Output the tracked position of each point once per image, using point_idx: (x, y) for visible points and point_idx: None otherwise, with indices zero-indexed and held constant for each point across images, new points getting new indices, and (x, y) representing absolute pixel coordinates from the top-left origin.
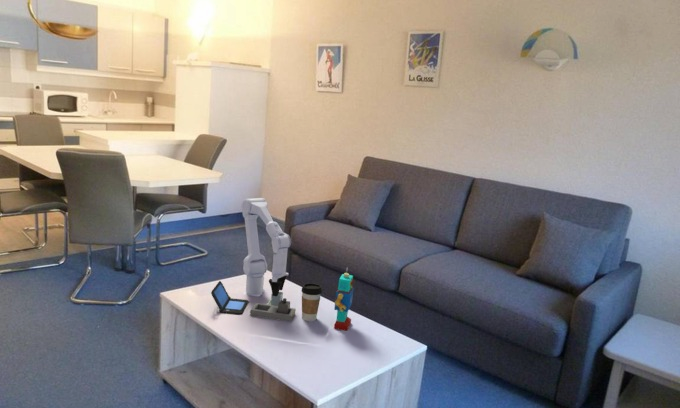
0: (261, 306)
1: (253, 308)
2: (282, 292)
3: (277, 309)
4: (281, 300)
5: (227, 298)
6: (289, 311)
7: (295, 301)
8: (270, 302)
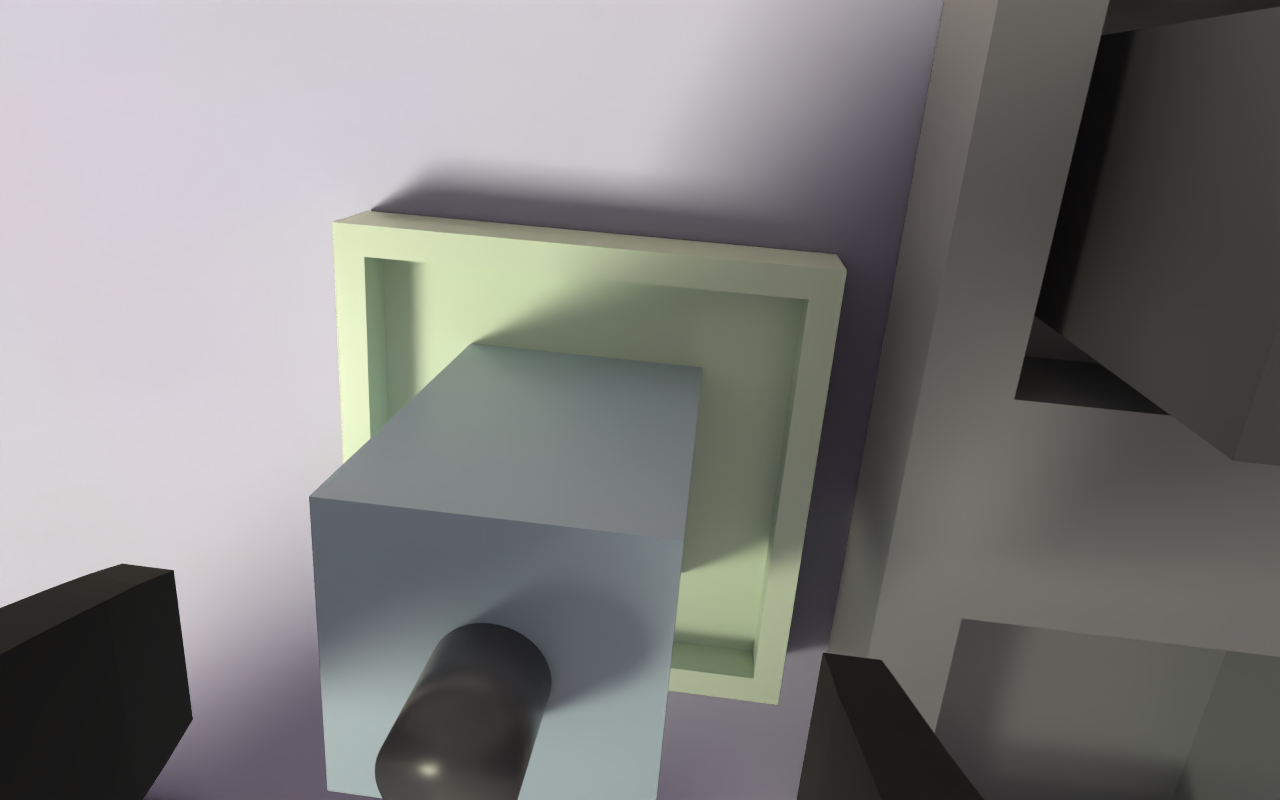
0: None
1: None
2: (324, 511)
3: None
4: (1268, 437)
5: None
6: (1148, 28)
7: (3, 45)
8: None
